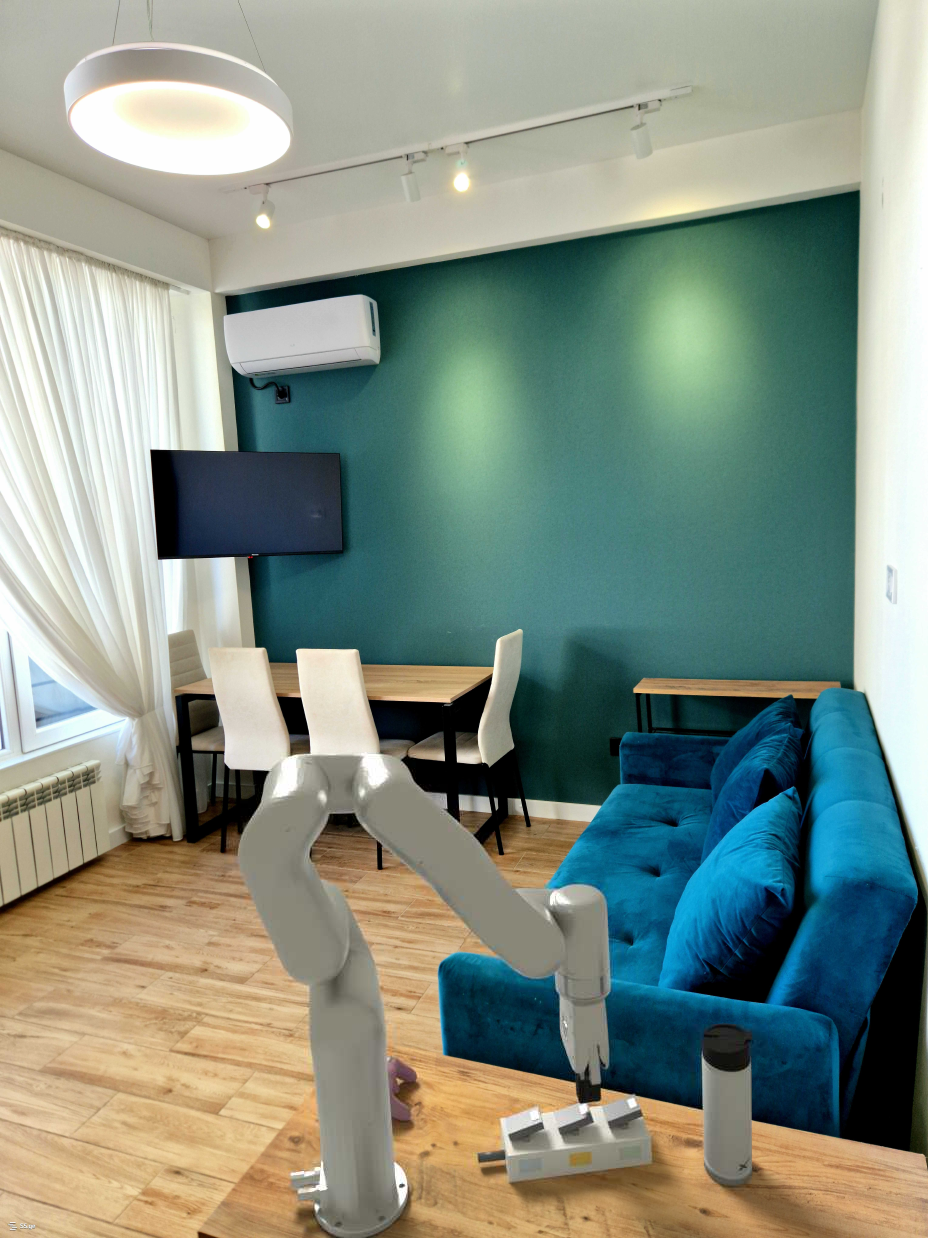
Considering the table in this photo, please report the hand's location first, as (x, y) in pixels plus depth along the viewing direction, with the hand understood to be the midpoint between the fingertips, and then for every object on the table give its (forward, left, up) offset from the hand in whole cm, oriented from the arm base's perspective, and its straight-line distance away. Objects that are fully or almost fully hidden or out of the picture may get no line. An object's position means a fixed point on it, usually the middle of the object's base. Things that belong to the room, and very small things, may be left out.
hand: (588, 1098), depth 114 cm
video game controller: (-27, +15, -9) cm, 32 cm away
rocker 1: (-9, 0, -3) cm, 10 cm away
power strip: (-4, 0, -8) cm, 9 cm away
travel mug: (+18, -6, -8) cm, 20 cm away
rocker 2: (+5, 0, -3) cm, 5 cm away
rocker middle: (-2, 0, -3) cm, 3 cm away
